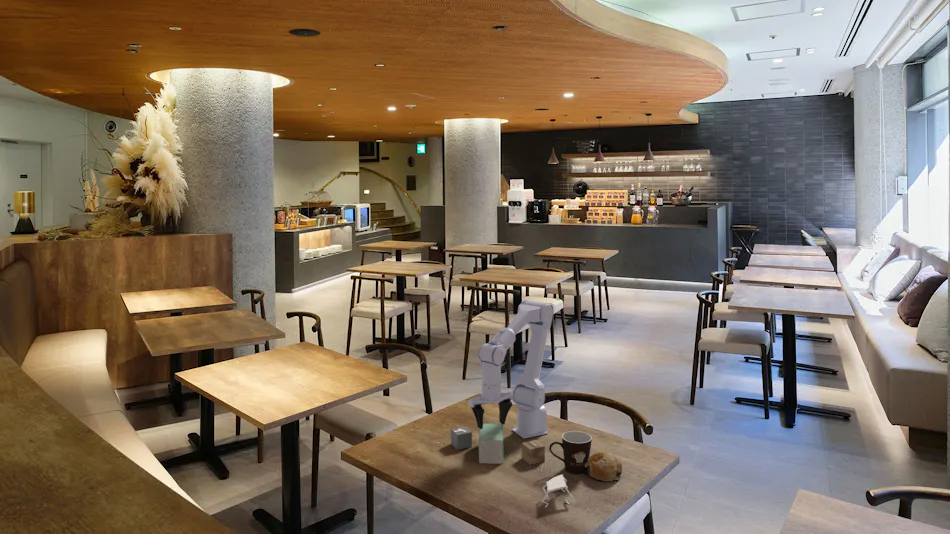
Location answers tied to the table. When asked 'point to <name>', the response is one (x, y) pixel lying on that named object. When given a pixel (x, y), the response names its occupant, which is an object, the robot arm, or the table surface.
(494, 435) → the box
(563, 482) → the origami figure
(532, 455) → the brown cardboard cube
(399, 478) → the table surface
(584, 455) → the coffee mug
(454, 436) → the charcoal cube
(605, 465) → the bread roll
